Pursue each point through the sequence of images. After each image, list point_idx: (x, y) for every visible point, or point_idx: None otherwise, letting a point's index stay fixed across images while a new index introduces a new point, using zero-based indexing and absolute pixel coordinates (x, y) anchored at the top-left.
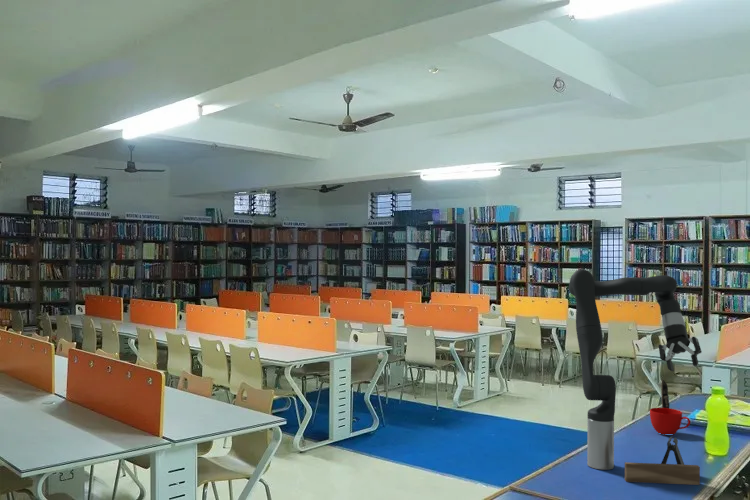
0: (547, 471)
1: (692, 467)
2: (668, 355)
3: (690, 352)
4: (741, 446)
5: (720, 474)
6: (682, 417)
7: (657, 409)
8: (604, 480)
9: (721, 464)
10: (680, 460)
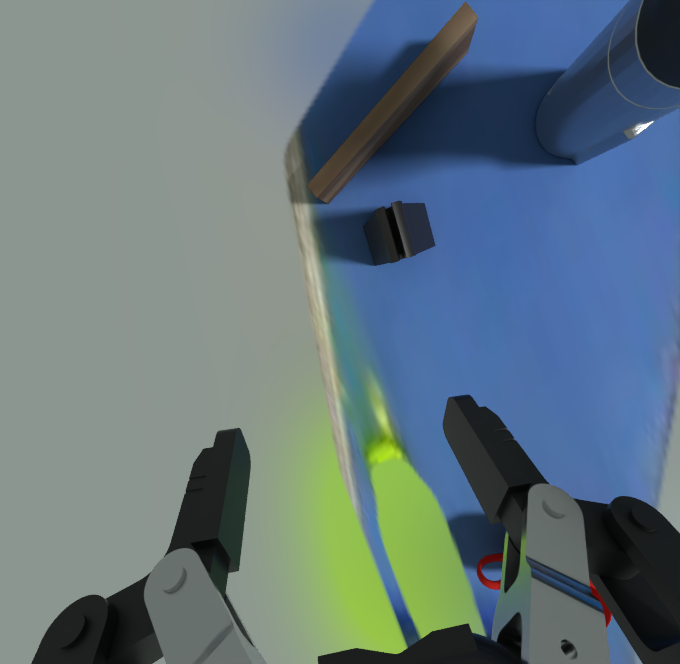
0: None
1: (319, 172)
2: (558, 564)
3: (199, 593)
4: (366, 532)
5: (320, 308)
6: (500, 584)
7: None
8: None
9: (346, 382)
10: (372, 227)
